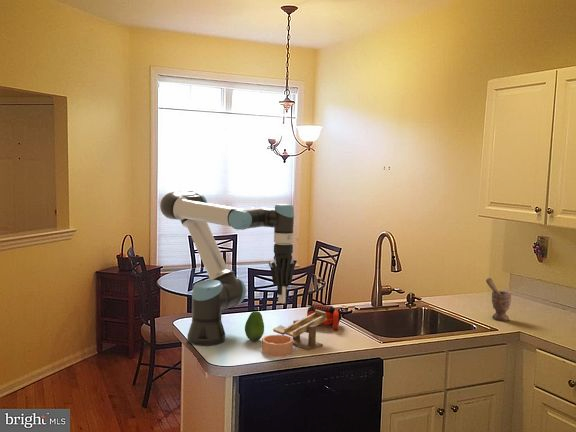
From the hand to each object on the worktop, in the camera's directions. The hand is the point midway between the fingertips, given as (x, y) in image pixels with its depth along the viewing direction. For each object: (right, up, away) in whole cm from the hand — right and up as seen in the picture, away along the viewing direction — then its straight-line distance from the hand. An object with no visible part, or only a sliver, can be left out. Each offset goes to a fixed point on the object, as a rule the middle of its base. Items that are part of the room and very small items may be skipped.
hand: (281, 302), depth 211 cm
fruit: (-11, -16, +4) cm, 20 cm away
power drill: (+18, -15, +27) cm, 36 cm away
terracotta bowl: (-2, -17, -8) cm, 19 cm away
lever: (+8, -11, +3) cm, 14 cm away
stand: (+9, -17, +1) cm, 19 cm away
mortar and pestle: (+103, -16, +45) cm, 114 cm away
